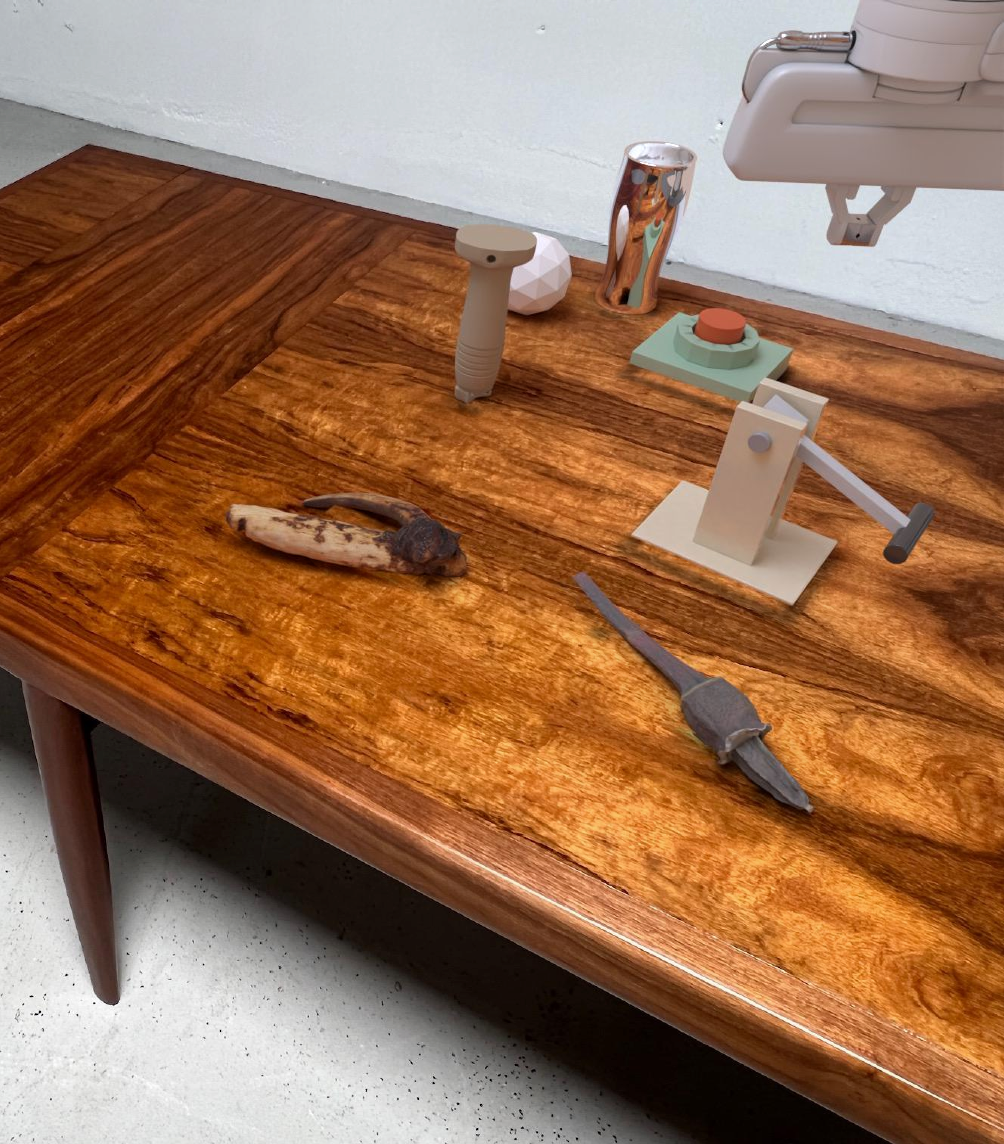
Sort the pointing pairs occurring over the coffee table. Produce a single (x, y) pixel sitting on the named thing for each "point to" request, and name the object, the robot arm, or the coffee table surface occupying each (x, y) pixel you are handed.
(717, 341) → the button
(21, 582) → the coffee table surface
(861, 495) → the tap lever
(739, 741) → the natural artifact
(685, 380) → the button housing
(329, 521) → the lashed bone hook
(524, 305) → the geometric ball
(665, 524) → the lever stand
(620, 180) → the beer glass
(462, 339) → the handle
